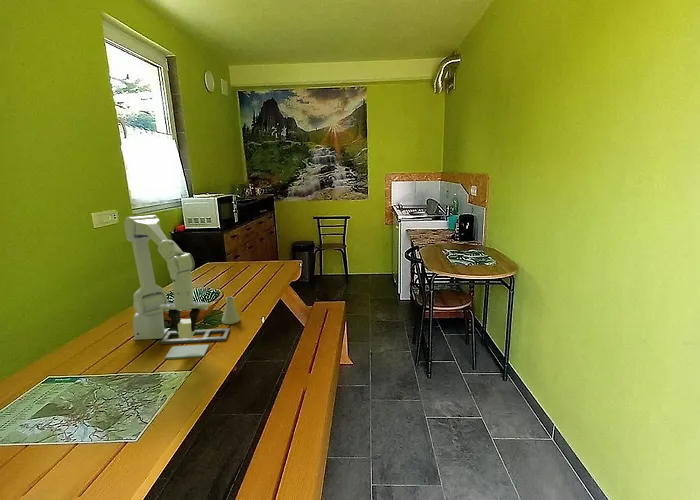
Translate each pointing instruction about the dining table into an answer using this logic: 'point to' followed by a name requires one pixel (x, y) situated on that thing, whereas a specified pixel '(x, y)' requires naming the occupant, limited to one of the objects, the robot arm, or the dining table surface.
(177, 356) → the pad
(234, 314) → the flask
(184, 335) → the peg
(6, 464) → the dining table surface
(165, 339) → the grey slotted frame
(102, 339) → the dining table surface
